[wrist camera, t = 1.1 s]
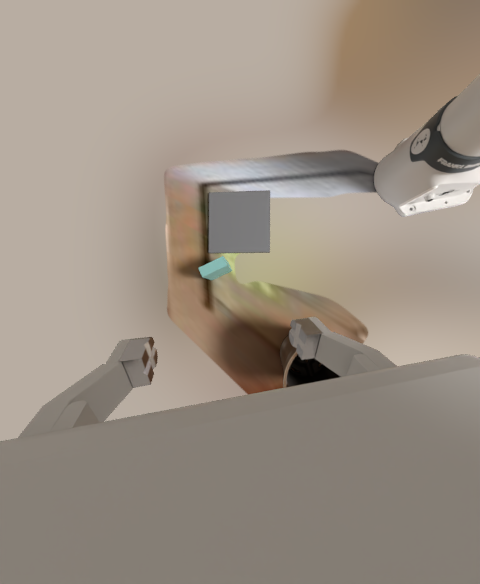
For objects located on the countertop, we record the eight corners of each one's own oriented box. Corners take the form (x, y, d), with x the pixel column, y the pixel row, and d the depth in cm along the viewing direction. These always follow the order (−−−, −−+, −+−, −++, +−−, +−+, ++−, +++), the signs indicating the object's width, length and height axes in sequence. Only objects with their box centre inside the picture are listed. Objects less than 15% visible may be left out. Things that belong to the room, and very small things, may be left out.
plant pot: (344, 331, 45) (396, 353, 28) (327, 393, 45) (369, 448, 29) (282, 314, 46) (298, 325, 30) (265, 373, 46) (272, 416, 30)
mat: (269, 191, 46) (269, 190, 46) (269, 252, 46) (269, 252, 45) (209, 193, 47) (209, 192, 47) (209, 253, 47) (208, 252, 47)
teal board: (232, 270, 47) (227, 265, 38) (211, 280, 47) (202, 277, 38) (228, 263, 47) (223, 256, 38) (208, 272, 47) (198, 268, 38)
